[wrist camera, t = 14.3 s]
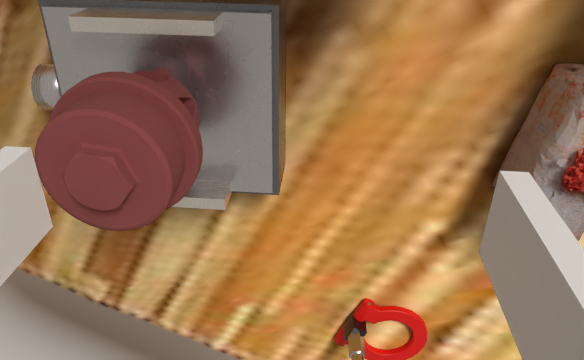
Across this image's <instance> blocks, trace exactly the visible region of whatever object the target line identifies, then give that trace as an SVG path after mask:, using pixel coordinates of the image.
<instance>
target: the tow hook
mask: <svg viewBox="0 0 584 360" xmlns="http://www.w3.org/2000/svg"><path fill="white" fill-rule="evenodd" d="M387 320H393V321H399V322H402V323H404V324H406V325H407V326H409V327H410V329H411V330H412V337H411V339H410V340H409V341H408V343H406V344H405V345H404V346H402V347H399V348H397V349H392V350H381V349H377V348H374V347H372V346H370V345H369V344H368V343H367V342H366V341H365V339H364V336H365V334H366V333H367V331H366V322H365V321H368V322H370V323H377V322H381V321H387ZM334 340H335V342H336V343H337V344H338V345H339V346H344V345H345V344H348V347H349V356H350V358H351V359H352V360H364V358H365V359H367V360H406V359H408V358H411V357H413V356H414V355H416V354H417V353H418V352H420V350H421V349H422V348H423V347H424V345H425V343H426V341H427V329H426V326H425V323H424V321H423V320H422V319H421V318H420V316H419V315H417V314H416V313H414V312H413V311H411V310H408V309H405V308H403V307H396V306H384V307H379V306H377V305H375V304H374V302H373V301H372V300H370V299H367V298H366V299H364V301H363V302H362V303H361V304H360V306H359V307H358V308H357V309H356V311H354V312H353V313H352V314H351V315H350V317H349V318H348V319H347V320H346V322H345V323H344V326H343V327H342V328H341V330H340V331H339V332H338V333H337V335H336V336H335V337H334Z"/></svg>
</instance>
